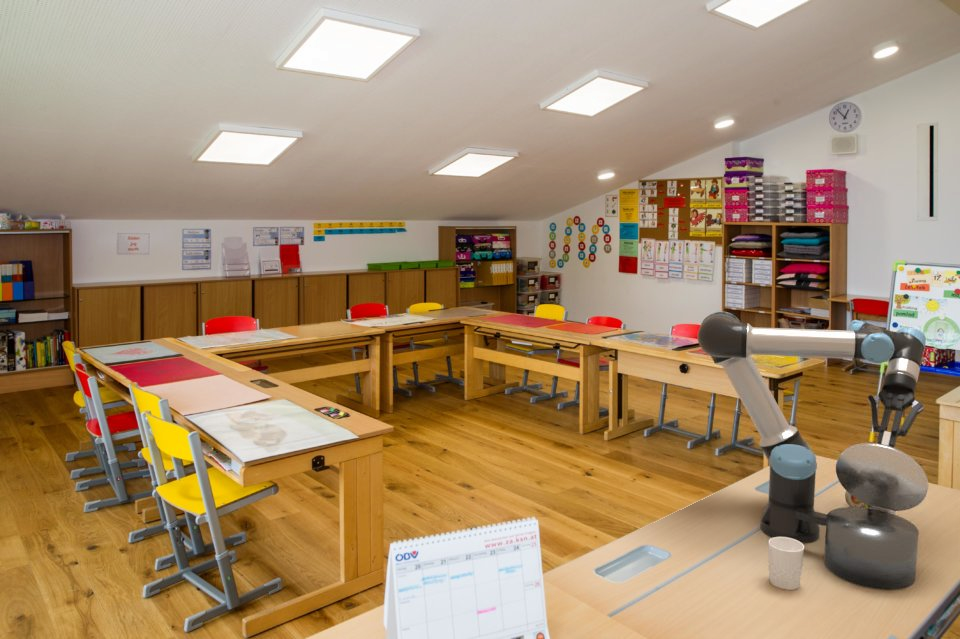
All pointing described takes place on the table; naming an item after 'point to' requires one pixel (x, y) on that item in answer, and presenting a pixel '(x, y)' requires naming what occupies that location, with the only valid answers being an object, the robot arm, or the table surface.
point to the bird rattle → (853, 501)
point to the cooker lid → (882, 477)
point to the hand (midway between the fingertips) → (883, 456)
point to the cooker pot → (868, 546)
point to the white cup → (785, 562)
